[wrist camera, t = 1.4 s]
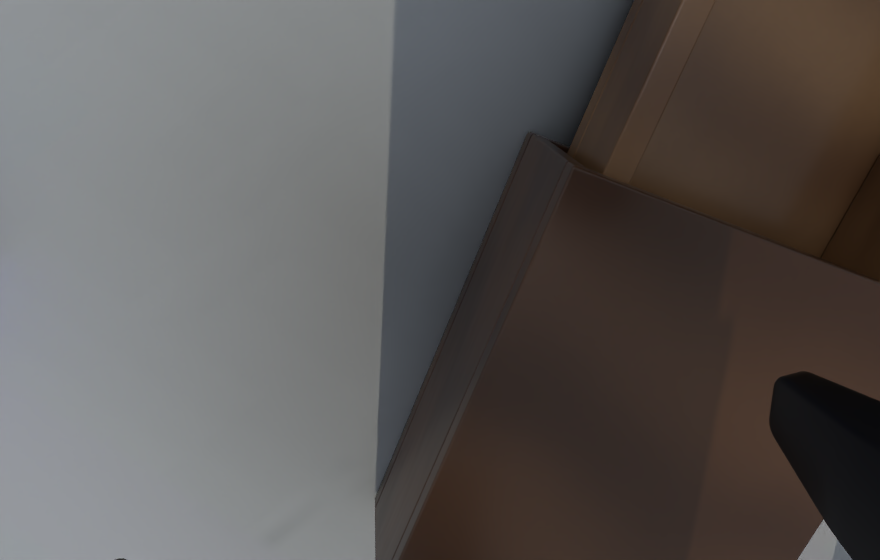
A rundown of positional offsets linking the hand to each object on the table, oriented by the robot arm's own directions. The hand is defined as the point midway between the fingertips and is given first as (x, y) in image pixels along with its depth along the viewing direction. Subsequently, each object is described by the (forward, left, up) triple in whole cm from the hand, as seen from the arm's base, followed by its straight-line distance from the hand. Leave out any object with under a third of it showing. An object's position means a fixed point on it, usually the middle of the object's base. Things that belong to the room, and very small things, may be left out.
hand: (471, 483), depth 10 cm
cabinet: (-8, -3, -14) cm, 17 cm away
